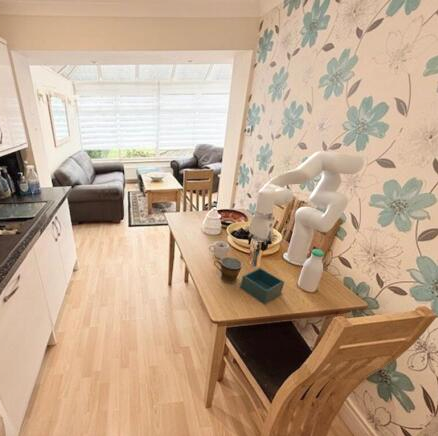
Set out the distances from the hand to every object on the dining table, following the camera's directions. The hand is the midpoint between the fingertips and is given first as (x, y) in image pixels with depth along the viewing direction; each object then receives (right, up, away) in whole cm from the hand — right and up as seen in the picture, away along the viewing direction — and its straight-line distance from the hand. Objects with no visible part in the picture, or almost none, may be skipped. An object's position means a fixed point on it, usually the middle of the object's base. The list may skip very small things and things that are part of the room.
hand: (257, 246), depth 120 cm
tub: (-2, -20, -8) cm, 21 cm away
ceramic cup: (-16, -16, 0) cm, 23 cm away
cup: (-14, -8, +20) cm, 26 cm away
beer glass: (0, -9, +4) cm, 10 cm away
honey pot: (-10, +5, +50) cm, 51 cm away
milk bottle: (+21, -19, -6) cm, 29 cm away
